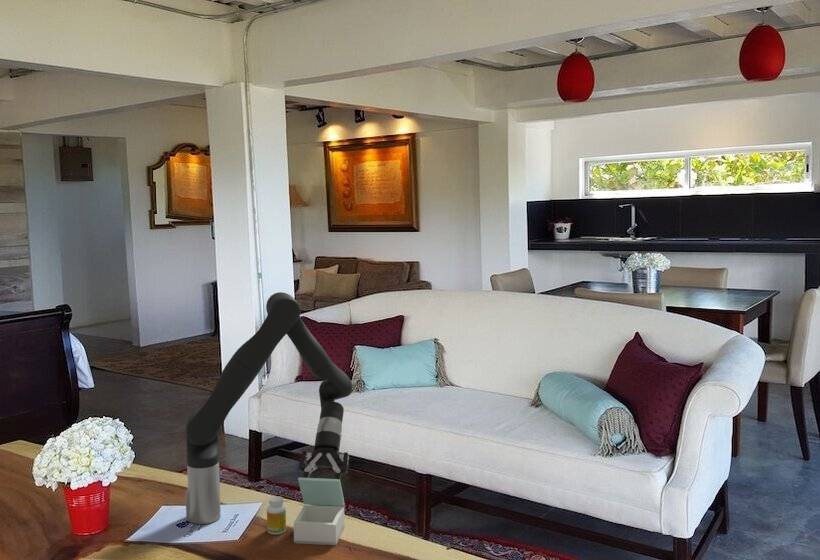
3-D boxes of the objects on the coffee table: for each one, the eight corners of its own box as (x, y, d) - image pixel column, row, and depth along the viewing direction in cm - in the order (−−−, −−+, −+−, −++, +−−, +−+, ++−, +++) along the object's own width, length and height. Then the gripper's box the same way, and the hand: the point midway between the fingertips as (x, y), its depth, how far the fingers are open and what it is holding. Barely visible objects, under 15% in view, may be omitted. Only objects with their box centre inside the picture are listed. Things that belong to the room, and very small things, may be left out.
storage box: (294, 543, 212) (293, 522, 211) (304, 524, 224) (304, 505, 223) (336, 545, 210) (335, 524, 210) (344, 526, 222) (344, 506, 222)
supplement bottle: (282, 535, 216) (281, 503, 215) (264, 534, 217) (263, 501, 216) (288, 527, 221) (288, 495, 220) (271, 526, 223) (270, 494, 221)
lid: (297, 479, 215) (298, 477, 216) (304, 504, 223) (304, 501, 223) (339, 481, 214) (339, 479, 214) (344, 505, 221) (344, 503, 222)
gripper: (303, 429, 226) (294, 480, 216) (350, 430, 224) (343, 482, 214) (307, 440, 231) (299, 491, 221) (353, 441, 230) (347, 492, 220)
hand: (320, 486), depth 218 cm, fingers open, 8 cm apart
